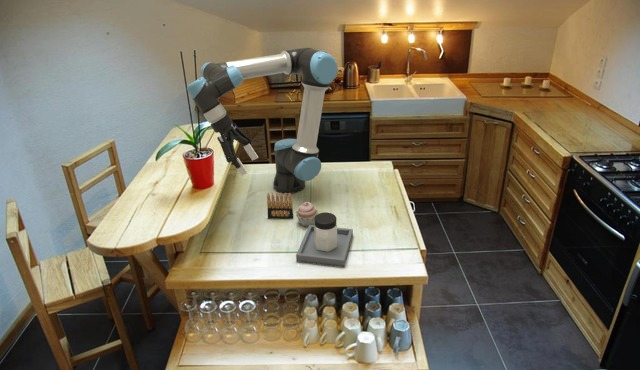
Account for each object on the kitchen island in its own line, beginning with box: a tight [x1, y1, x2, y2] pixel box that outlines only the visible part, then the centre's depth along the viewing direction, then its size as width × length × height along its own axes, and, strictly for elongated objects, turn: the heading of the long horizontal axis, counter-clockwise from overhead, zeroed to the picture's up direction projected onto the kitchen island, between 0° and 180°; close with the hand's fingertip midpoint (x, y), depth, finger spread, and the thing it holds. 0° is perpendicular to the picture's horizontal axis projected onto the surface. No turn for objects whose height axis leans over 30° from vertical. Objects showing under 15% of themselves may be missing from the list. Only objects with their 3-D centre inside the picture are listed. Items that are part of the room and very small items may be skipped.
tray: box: [295, 225, 354, 268], centre depth 172 cm, size 20×17×3 cm
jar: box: [314, 211, 338, 252], centre depth 169 cm, size 9×8×12 cm
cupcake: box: [295, 201, 319, 228], centre depth 186 cm, size 9×9×10 cm
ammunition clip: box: [266, 192, 294, 220], centre depth 190 cm, size 11×2×12 cm, turn 87°
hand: (250, 166), depth 174 cm, fingers open, 13 cm apart
